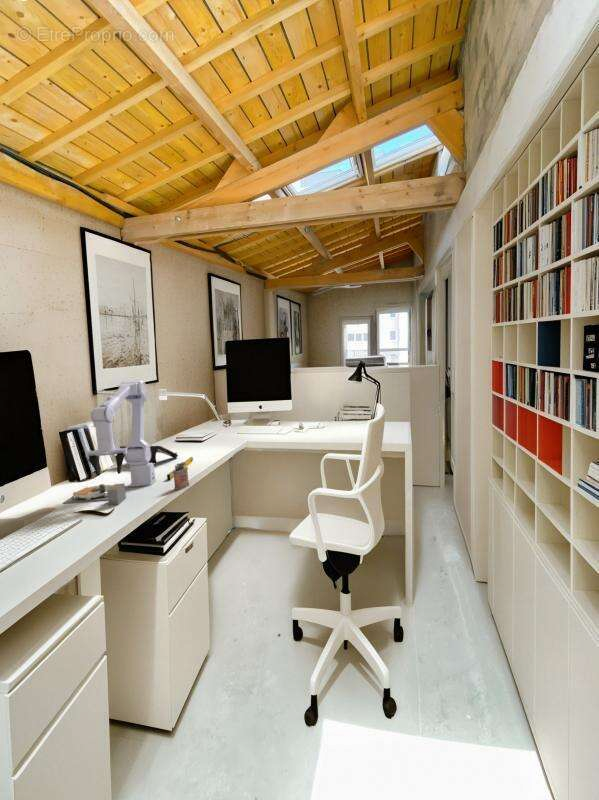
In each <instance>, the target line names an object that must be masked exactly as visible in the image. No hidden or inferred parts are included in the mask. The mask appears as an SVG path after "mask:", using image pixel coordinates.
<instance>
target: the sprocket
mask: <svg viewBox="0 0 599 800" xmlns="http://www.w3.org/2000/svg"><path fill="white" fill-rule="evenodd" d="M114 485H115V484H113V485H112V484H103V483H102V484H101V483H100V484H99V485H93V486H90V487H88V486H87V487H83V488H82V489H79V490H78V491H74V492H72V496H74V499H75V500H77V499H86V500H91V499H94V498H100V497H107V496H108V494H107V490H108V489H110V488H111V487H112V486H114Z"/></svg>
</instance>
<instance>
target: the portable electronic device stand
mask: <svg viewBox="0 0 599 800" xmlns="http://www.w3.org/2000/svg"><path fill="white" fill-rule="evenodd" d="M118 448H126V445H125V446H122V445H121V446H119V447H118ZM135 448H142V447H135ZM150 451H151V459H150V461H149V462H148V463H157V462H158V461H157V456H156V455H157V453H160V454H163V455H165V456H170V457H171V458H173V457H174V458H173V459H176V458H178V457H179V455H178V452H173V451H171V450H170V449H168V448H166V447H164V446H161V445H150ZM157 464H158V463H157Z"/></svg>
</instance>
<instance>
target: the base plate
mask: <svg viewBox="0 0 599 800" xmlns="http://www.w3.org/2000/svg"><path fill="white" fill-rule="evenodd" d="M127 487H128V486H127V485H125V489H126V488H127ZM105 501H108V496H107V497H100V498H94V499H91V500H86V499H77V500H75V499H74V496H73V495H72V496H71V497H69V498H68V499H66V500H65V501H64V502H62V504H64V505H65V504H76V503H77V504H78V503H91V502H105Z"/></svg>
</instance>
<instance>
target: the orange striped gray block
mask: <svg viewBox="0 0 599 800" xmlns="http://www.w3.org/2000/svg"><path fill="white" fill-rule="evenodd" d="M113 485H114V486H112V487H111V488H110V489H108V490H107V494H108V500H107V501H108V502H107V503H108V506H109V505H113V506H116V507H117V506H119V505H120V504H121V503H123V502H124V501H125V500H126V499H127V494H126V488H125V486H126V484H125V483H115V484H113ZM113 506H112V507H113Z"/></svg>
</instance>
